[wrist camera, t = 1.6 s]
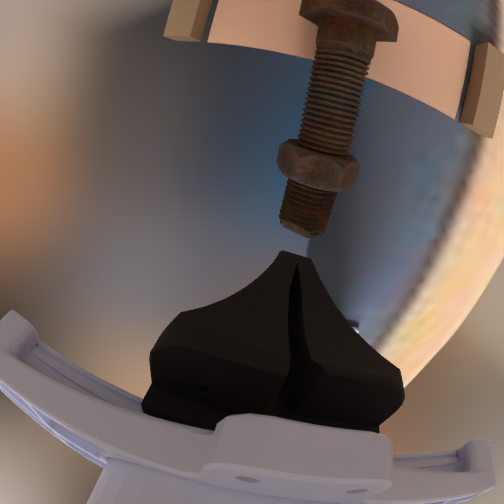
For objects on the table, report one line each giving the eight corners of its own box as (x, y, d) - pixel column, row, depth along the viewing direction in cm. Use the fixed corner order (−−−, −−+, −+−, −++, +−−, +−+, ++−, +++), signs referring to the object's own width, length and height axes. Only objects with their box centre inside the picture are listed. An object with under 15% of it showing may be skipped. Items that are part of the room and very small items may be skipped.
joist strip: (478, 134, 14) (492, 138, 12) (176, 40, 15) (163, 35, 14) (494, 59, 10) (507, 57, 9) (198, -33, 12) (188, -43, 10)
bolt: (294, 203, 22) (335, 18, 13) (350, 232, 19) (405, 30, 11) (243, 222, 18) (288, -15, 9) (309, 261, 15) (377, -11, 7)
